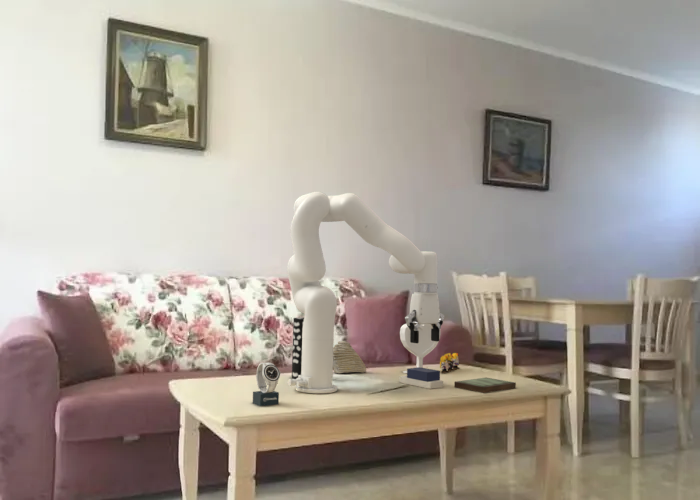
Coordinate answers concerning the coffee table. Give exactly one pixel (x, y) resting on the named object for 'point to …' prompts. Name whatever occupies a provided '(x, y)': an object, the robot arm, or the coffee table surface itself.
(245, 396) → the coffee table surface
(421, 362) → the heart sculpture
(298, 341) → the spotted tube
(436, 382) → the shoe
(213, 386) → the coffee table surface
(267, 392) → the watch
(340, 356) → the fossil tooth
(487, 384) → the green brown rectangular slab
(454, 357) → the figurine set
